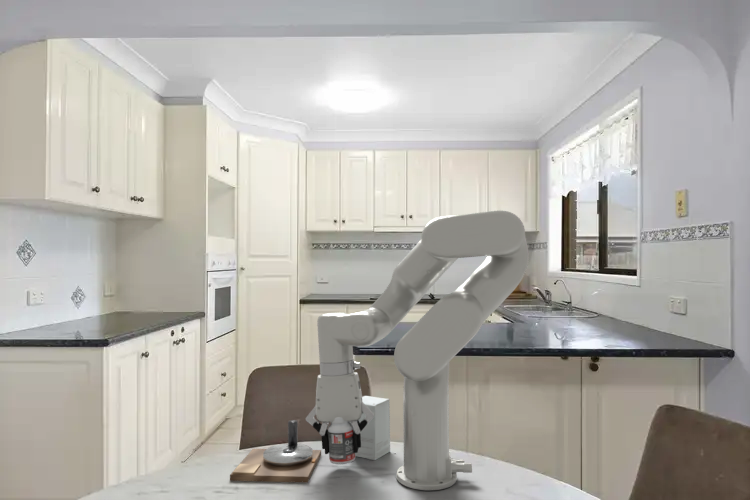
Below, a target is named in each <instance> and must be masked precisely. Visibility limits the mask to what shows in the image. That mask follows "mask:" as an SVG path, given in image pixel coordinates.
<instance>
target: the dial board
mask: <svg viewBox="0 0 750 500" xmlns="http://www.w3.org/2000/svg"><path fill="white" fill-rule="evenodd" d="M266 449H267V448H252V449H251V450H250V451H249V453H248V454H246V456H245V457H244V458H243V460H241V462H240V463H239V464H238V465H237V466H236V467H235V468H234V470H233V471H232V472H231V473H230V474H229V481H231V482H268V483H269V482H270V483H271V482H272V483H306V484H308V483H309V481H310V479H311V477H312V475H313V473H314V471H315V469H316V467H317V465H318V463H319V460H320V459H321V457H322V449H312V450H313V456H312V458H311V459H309V460H308V461H306V462H303V463H300V464H296V465H287V466H280V465H272V464H269V463H267V462H265V461H264V459H263V453H264V451H265V450H266Z"/></svg>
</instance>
